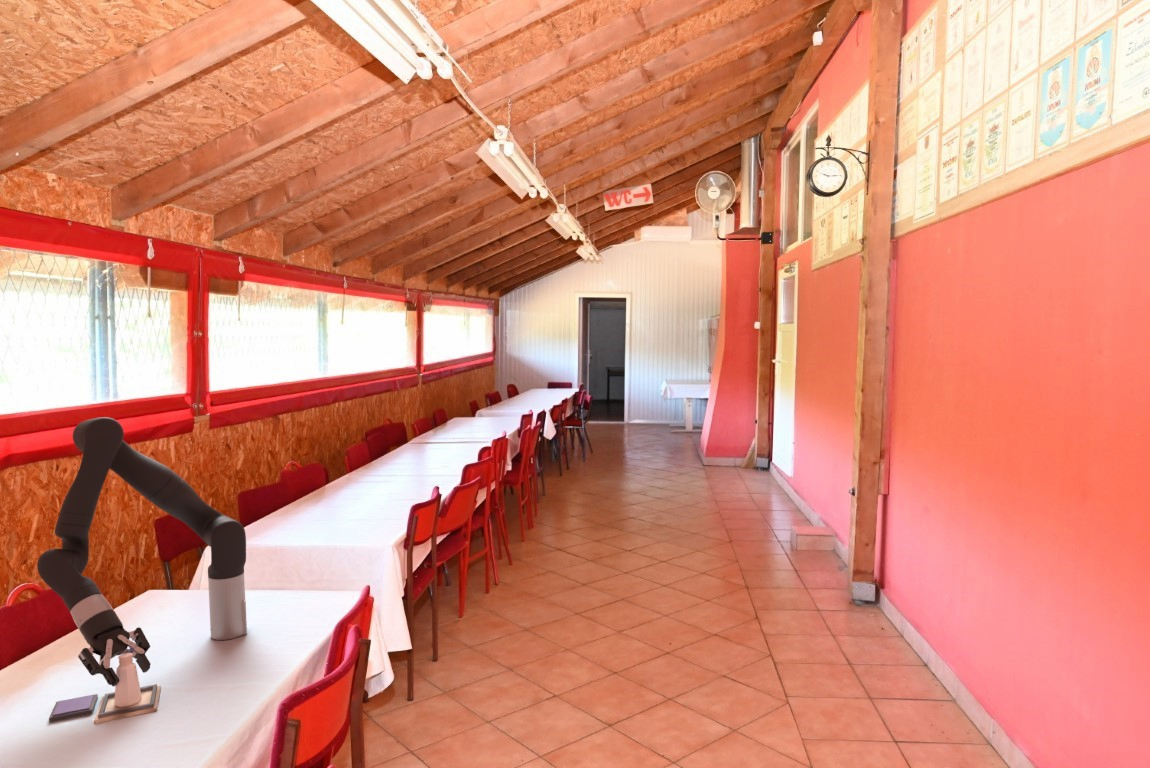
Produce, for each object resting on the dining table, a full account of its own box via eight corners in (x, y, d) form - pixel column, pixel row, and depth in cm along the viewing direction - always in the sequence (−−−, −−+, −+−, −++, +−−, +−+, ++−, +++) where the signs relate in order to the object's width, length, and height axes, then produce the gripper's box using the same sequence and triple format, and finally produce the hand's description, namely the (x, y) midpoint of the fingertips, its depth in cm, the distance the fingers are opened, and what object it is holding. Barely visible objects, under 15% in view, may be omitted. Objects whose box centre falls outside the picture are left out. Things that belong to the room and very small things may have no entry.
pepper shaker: (129, 708, 166) (126, 660, 165) (108, 706, 167) (105, 659, 166) (147, 696, 171) (144, 650, 170) (127, 695, 172) (124, 649, 171)
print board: (161, 687, 177) (160, 682, 177) (157, 710, 166) (156, 704, 166) (102, 699, 171) (101, 693, 171) (94, 723, 161) (93, 717, 161)
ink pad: (97, 698, 172) (97, 692, 172) (92, 713, 165) (92, 708, 165) (56, 705, 169) (56, 700, 168) (49, 722, 161) (48, 716, 161)
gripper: (70, 620, 164) (108, 681, 160) (132, 599, 177) (168, 655, 173) (57, 640, 166) (93, 700, 162) (119, 617, 179) (154, 672, 175)
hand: (132, 676), depth 168 cm, fingers open, 6 cm apart
